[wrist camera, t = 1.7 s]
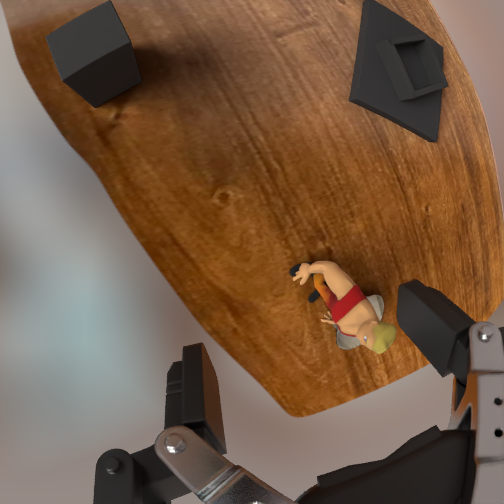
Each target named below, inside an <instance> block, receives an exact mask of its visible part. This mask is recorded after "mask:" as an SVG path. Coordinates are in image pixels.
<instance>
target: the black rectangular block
mask: <svg viewBox="0 0 504 504" xmlns="http://www.w3.org/2000/svg"><path fill="white" fill-rule="evenodd" d="M46 40H47V43H48V46H49V48H50V51H51V54H52V56H53V59H54V62H55V64H56V67H57V70H58V72H59V75H60V77H61V80H62V81H63V82H64V83H65V84H67V85H68V86H69V87H70V88H71V89H73V90H74V91H75V92H76V93H77V94H79V95H80V96H81V97H82V98H83V99H85V100H86V101H87V102H88V103H89V104H91V105H92V106H93V107H94V108H96V107H98V106H99V105H101V104H103V103H104V102H106V101H108V100H110V99H111V98H113V97H115V96H117V95H118V94H120V93H122V92H124V91H126V90H127V89H129V88H131V87H133V86H135V85H137V84H139V83H141V82H142V79H141V75H140V72H139V69H138V65H137V62H136V58H135V54H134V51H133V47H132V44H131V41H130V38H129V36H128V34H127V32H126V30H125V28H124V26H123V24H122V22H121V20H120V18H119V16H118V14H117V12H116V10H115V8H114V6H113V4H112V2H111V0H109V1H107V2H105V3H103V4H101V5H99V6H97V7H95V8H93V9H91V10H89V11H87V12H86V13H84V14H82V15H80V16H78V17H77V18H75V19H73V20H71V21H70V22H68V23H66V24H65V25H63V26H61V27H60V28H58V29H57V30H55V31H53V32H52V33H50V34H49V35H47V36H46Z"/></svg>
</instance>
